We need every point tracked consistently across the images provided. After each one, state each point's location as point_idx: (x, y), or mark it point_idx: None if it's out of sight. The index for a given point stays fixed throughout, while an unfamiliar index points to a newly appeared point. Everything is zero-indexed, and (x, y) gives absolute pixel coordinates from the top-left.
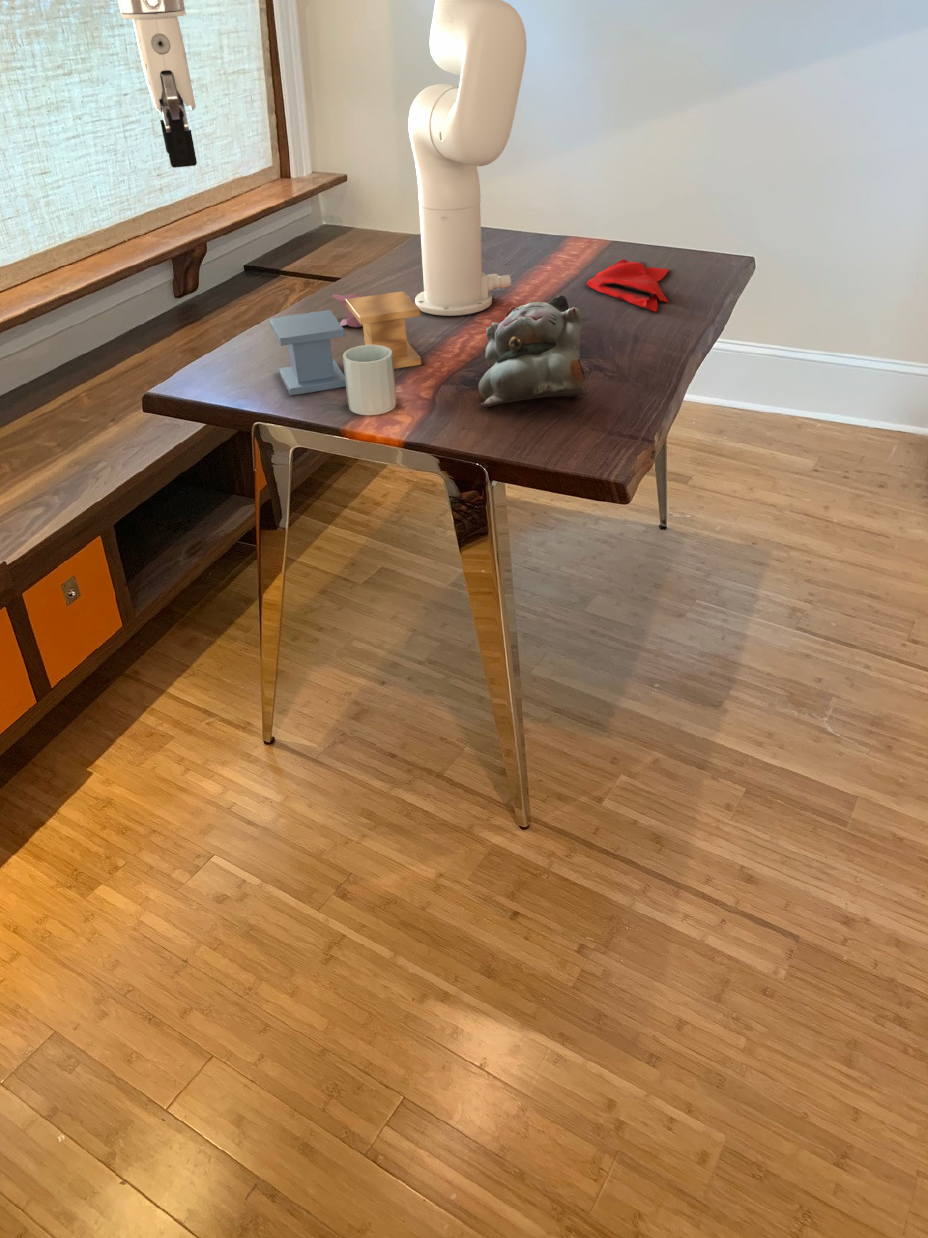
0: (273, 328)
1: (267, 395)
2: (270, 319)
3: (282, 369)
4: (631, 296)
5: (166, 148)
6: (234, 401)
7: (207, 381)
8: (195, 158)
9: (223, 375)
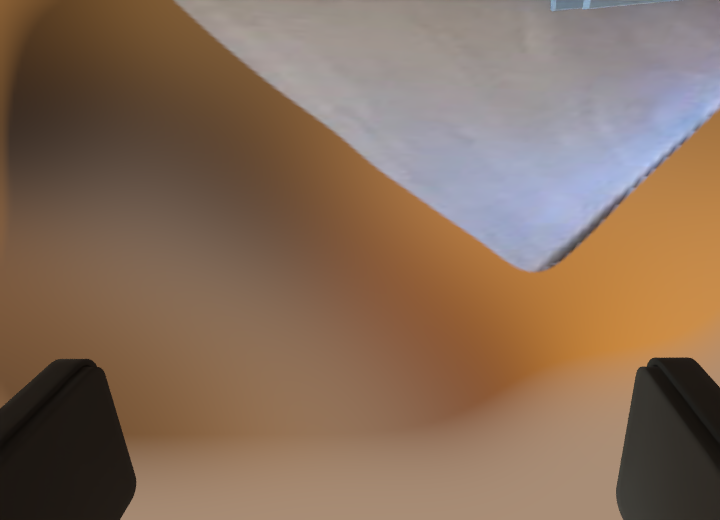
0: (664, 1)
1: (661, 53)
2: (603, 4)
3: (567, 1)
4: None
5: (118, 512)
6: (654, 130)
7: (512, 179)
8: (714, 382)
9: (493, 144)
